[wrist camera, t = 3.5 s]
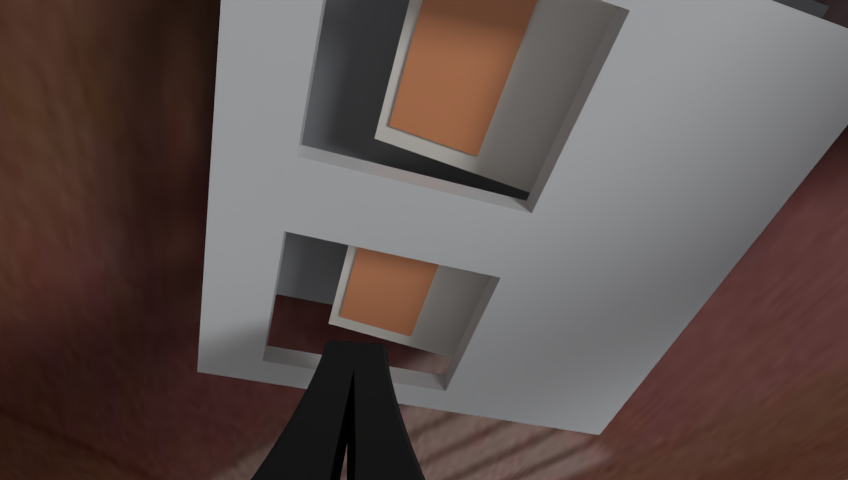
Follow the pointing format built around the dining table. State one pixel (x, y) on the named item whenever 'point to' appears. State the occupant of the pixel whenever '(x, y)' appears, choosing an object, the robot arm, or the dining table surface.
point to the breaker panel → (512, 193)
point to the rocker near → (489, 81)
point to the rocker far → (406, 300)
